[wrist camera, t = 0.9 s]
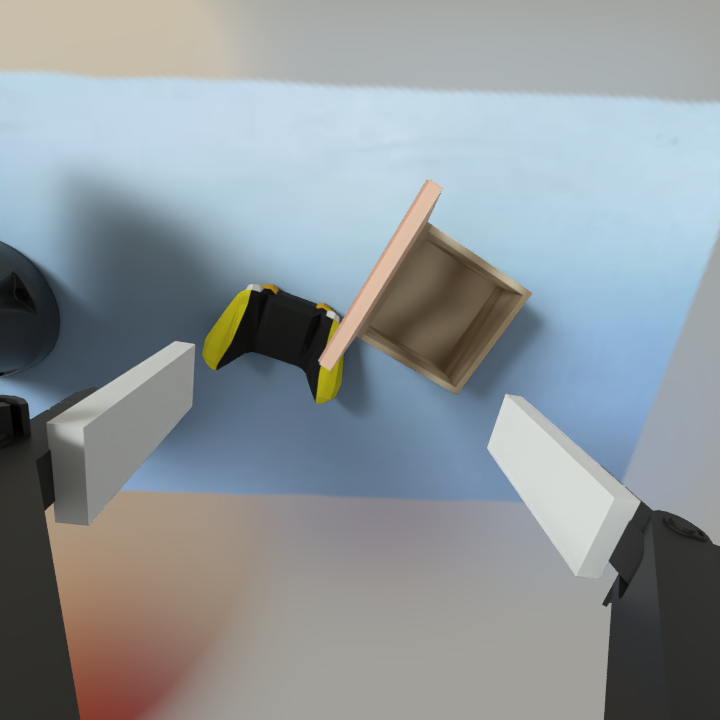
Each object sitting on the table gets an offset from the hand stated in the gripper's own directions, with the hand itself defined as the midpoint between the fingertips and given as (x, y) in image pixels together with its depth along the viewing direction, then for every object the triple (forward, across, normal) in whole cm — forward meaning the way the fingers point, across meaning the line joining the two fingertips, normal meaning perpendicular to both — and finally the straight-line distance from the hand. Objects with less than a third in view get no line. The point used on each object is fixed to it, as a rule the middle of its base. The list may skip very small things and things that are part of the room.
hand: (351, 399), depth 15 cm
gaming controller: (+27, -6, -5) cm, 28 cm away
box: (+26, +9, +1) cm, 28 cm away
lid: (+13, +2, +4) cm, 14 cm away
